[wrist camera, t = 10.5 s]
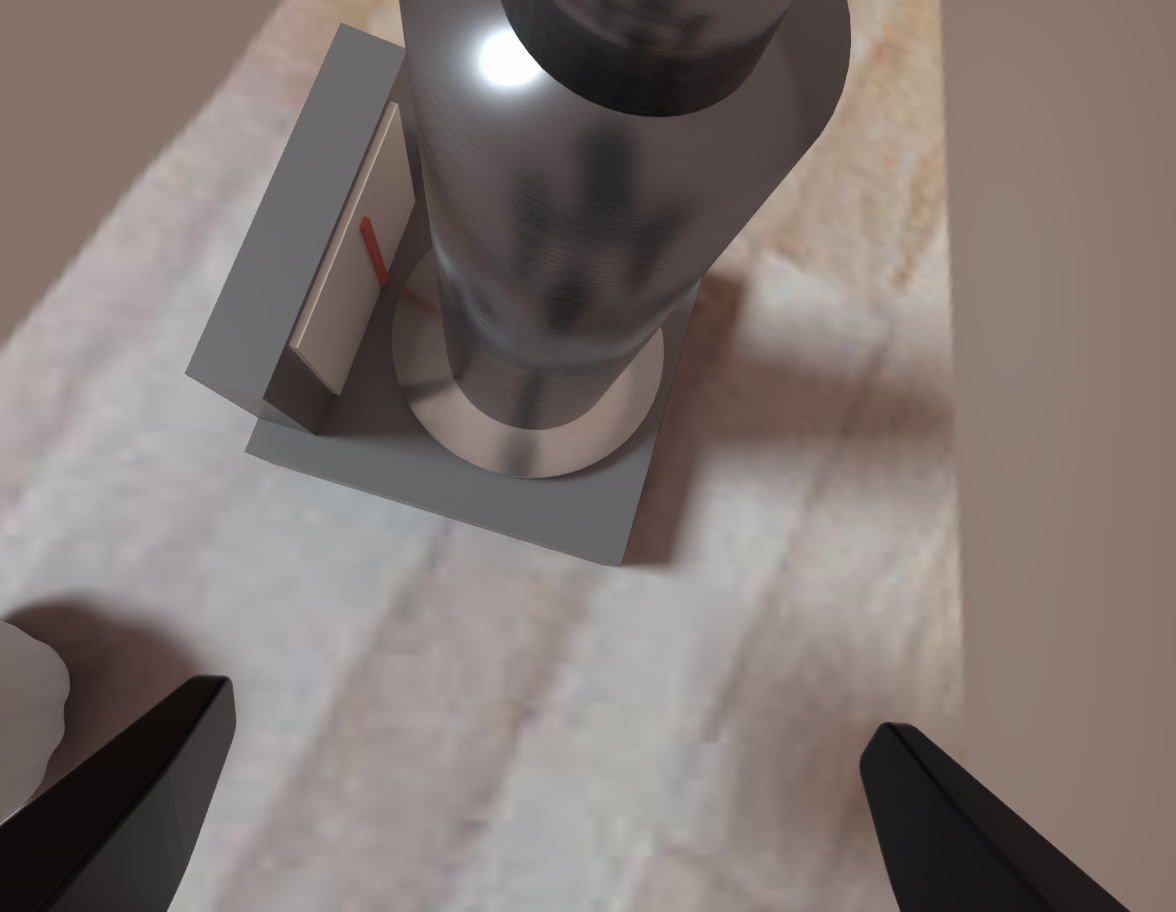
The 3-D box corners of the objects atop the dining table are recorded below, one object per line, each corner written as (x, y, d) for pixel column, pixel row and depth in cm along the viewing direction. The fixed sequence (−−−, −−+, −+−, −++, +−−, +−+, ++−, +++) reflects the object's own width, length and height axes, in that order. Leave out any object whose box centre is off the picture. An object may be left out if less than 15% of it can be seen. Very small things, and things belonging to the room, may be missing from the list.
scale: (603, 565, 21) (664, 573, 14) (273, 463, 20) (164, 418, 13) (687, 274, 23) (775, 158, 16) (393, 164, 22) (355, -12, 15)
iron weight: (620, 430, 18) (981, 131, 5) (446, 430, 18) (364, 69, 4) (613, 269, 19) (916, -342, 6) (446, 262, 18) (376, -478, 5)
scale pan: (618, 513, 19) (622, 512, 18) (353, 429, 18) (350, 425, 17) (686, 277, 20) (692, 268, 20) (446, 187, 19) (445, 176, 19)
